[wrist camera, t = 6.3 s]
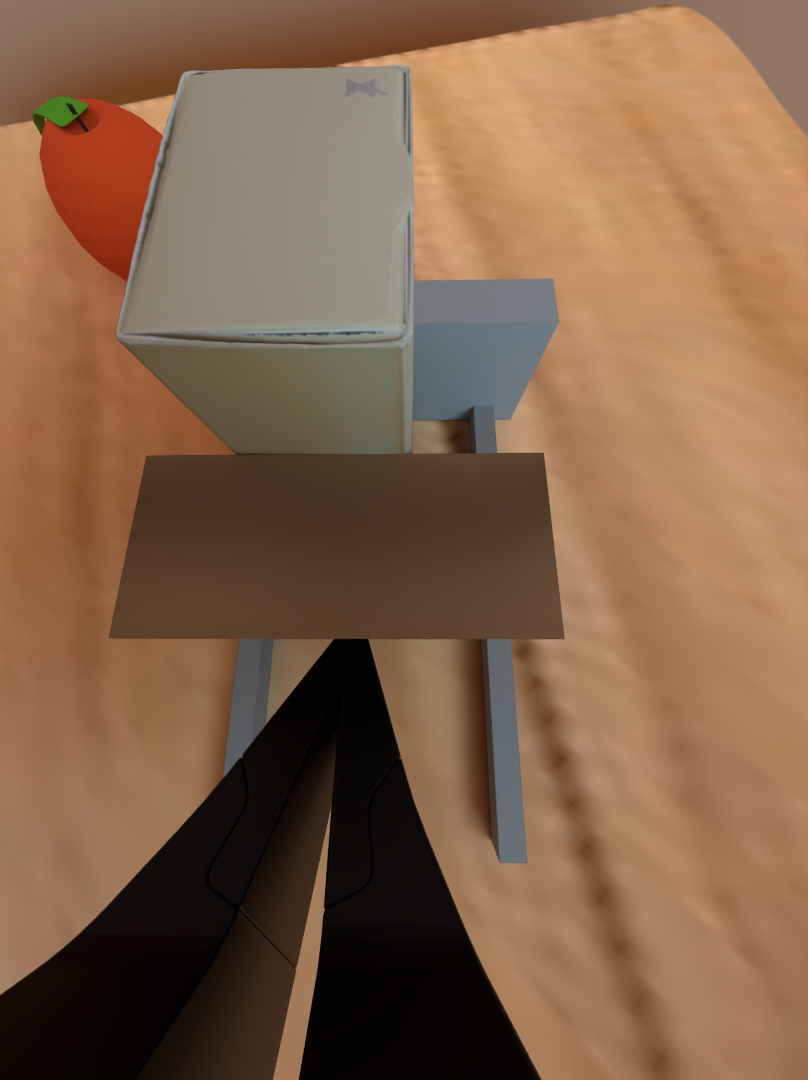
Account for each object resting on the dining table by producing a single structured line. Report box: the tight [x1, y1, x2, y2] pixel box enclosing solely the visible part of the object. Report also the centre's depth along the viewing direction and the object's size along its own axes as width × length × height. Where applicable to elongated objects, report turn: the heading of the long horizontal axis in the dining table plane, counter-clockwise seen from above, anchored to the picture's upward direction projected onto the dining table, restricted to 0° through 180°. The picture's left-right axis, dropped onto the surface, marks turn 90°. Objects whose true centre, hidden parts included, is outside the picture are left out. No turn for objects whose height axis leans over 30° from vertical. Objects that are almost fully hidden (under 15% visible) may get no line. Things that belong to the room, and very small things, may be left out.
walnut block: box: [109, 453, 564, 639], centre depth 11 cm, size 4×9×9 cm, turn 90°
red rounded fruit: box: [33, 97, 163, 281], centre depth 17 cm, size 8×7×7 cm
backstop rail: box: [223, 279, 559, 863], centre depth 13 cm, size 21×14×6 cm, turn 0°
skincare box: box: [116, 65, 414, 455], centre depth 11 cm, size 6×4×12 cm
